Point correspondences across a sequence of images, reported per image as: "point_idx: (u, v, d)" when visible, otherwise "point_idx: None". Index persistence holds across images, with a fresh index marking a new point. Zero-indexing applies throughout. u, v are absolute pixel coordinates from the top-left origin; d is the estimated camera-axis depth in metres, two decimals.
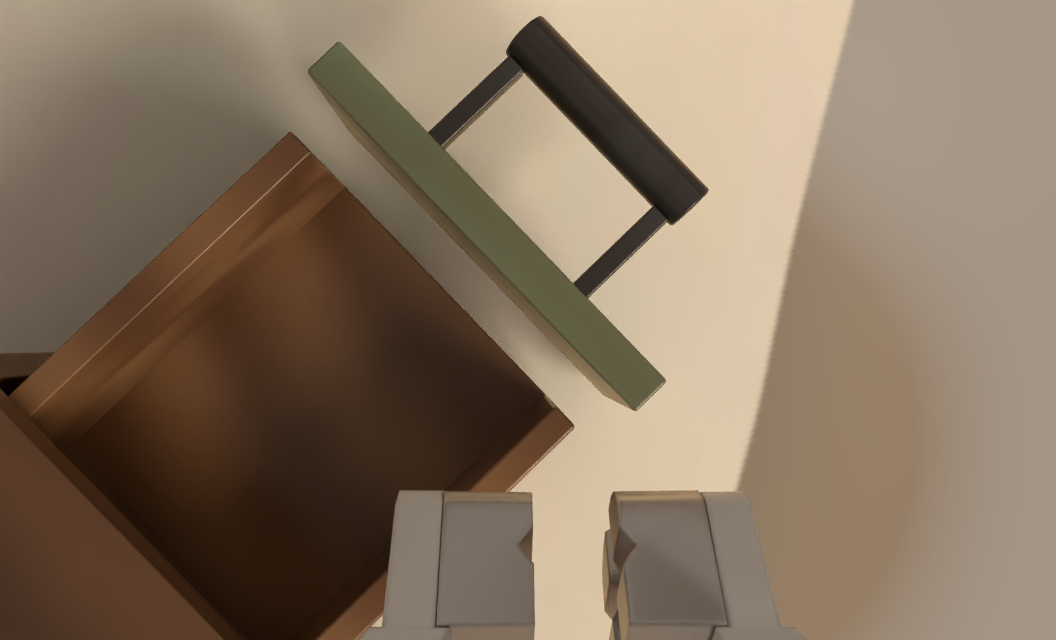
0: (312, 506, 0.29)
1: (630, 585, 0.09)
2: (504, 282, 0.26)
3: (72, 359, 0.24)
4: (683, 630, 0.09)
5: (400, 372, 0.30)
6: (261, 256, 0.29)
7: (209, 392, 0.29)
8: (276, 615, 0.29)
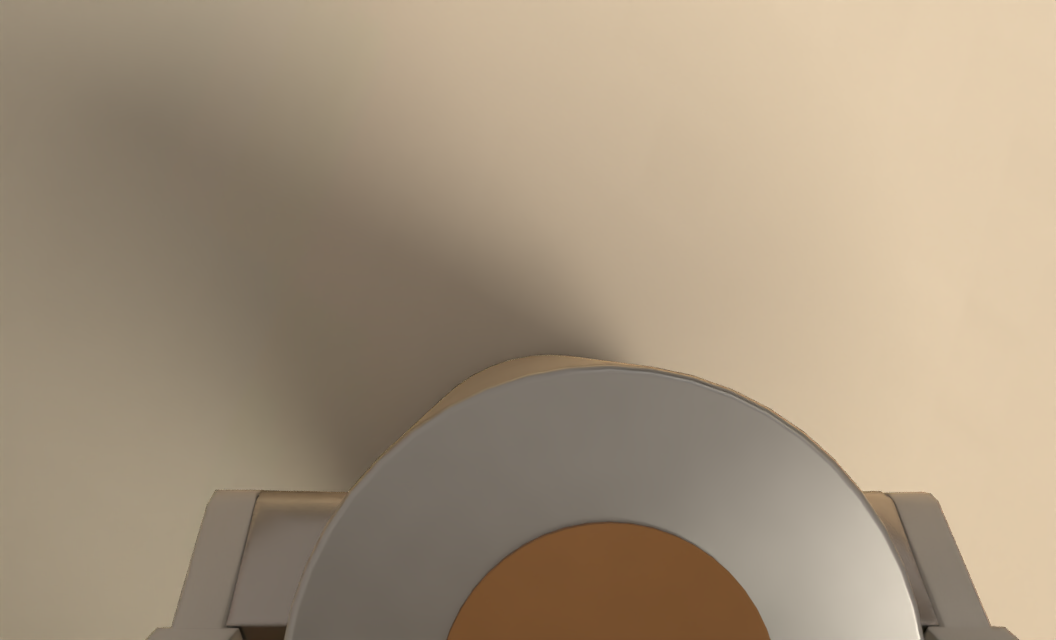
0: None
1: None
2: None
3: None
4: None
5: None
6: None
7: None
8: None
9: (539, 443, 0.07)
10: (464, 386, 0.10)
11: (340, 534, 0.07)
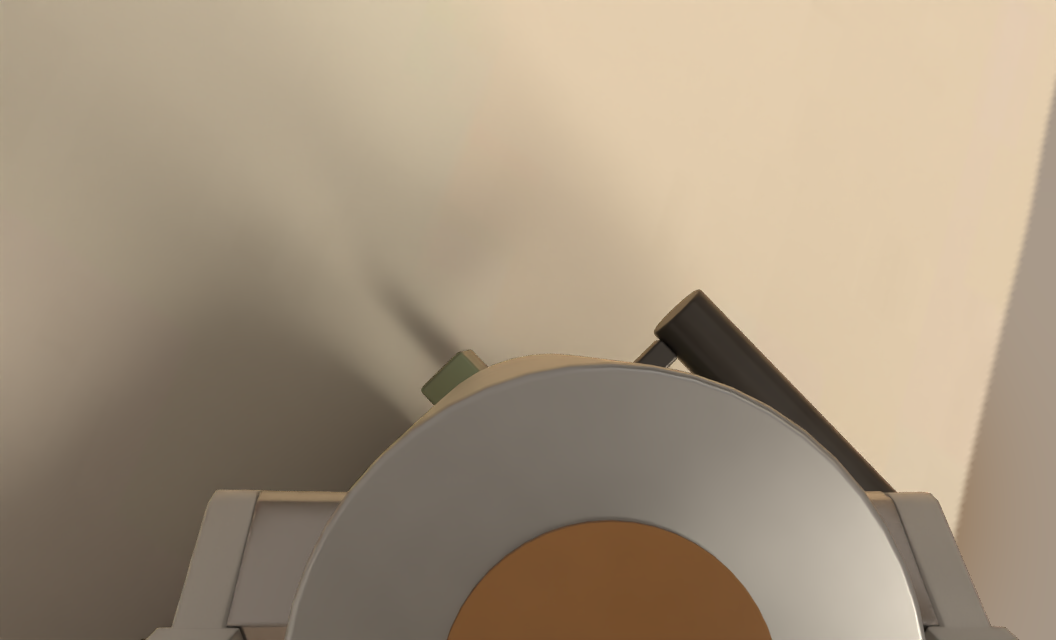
0: None
1: None
2: None
3: None
4: None
5: None
6: None
7: None
8: None
9: (541, 440, 0.07)
10: (465, 385, 0.10)
11: (341, 533, 0.07)
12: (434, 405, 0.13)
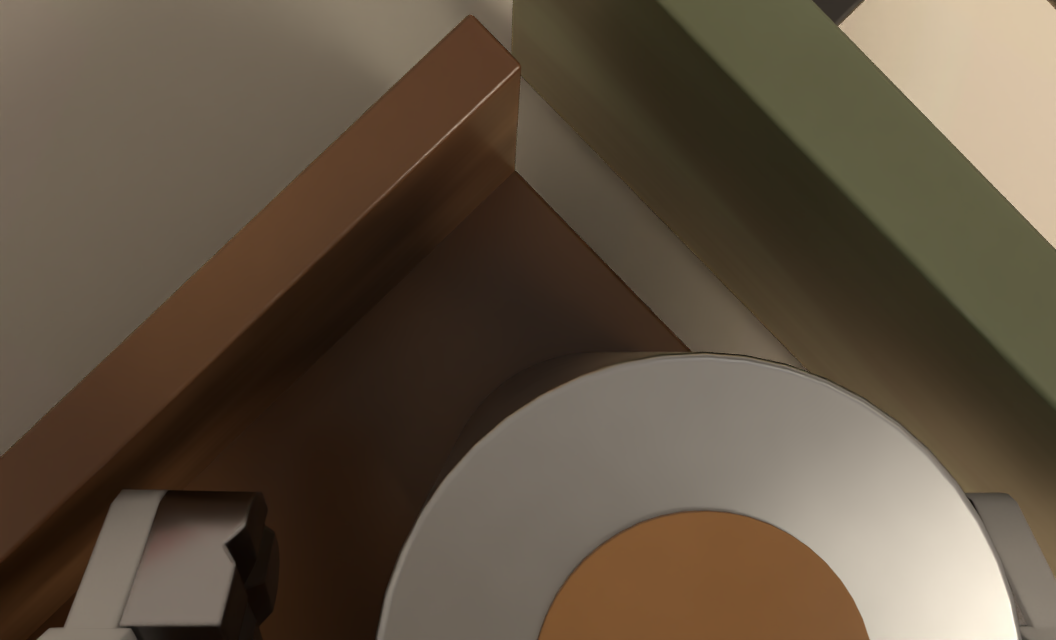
0: None
1: None
2: (933, 378, 0.11)
3: None
4: None
5: None
6: (356, 311, 0.14)
7: None
8: None
9: (635, 431, 0.07)
10: (530, 379, 0.10)
11: (435, 521, 0.07)
12: (487, 401, 0.13)
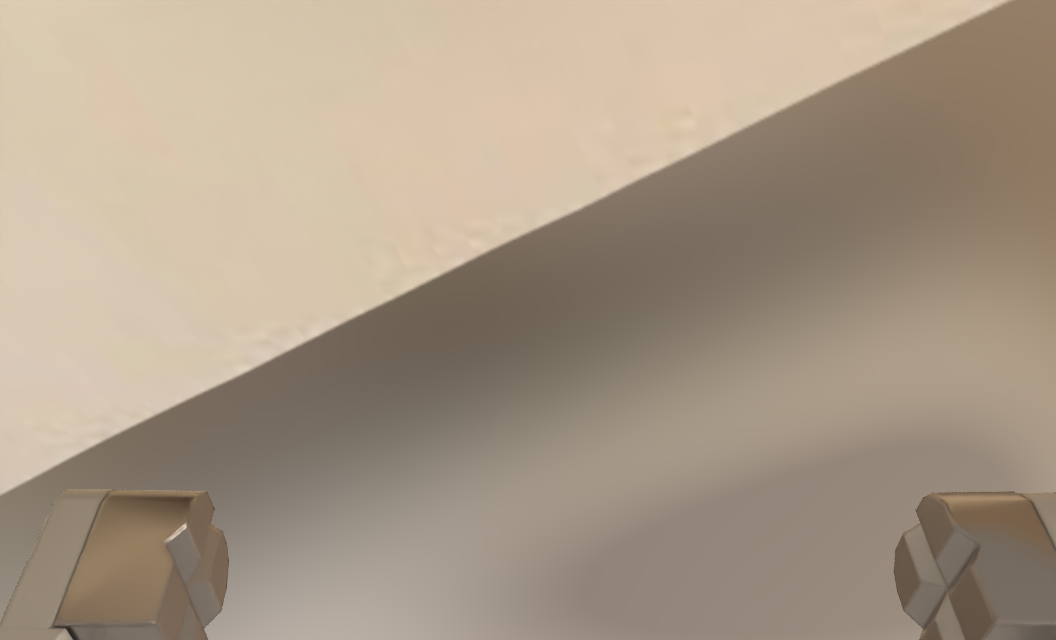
0: None
1: (986, 585, 0.09)
2: None
3: None
4: (1045, 629, 0.09)
5: None
6: None
7: None
8: None
9: None
10: None
11: None
12: None
